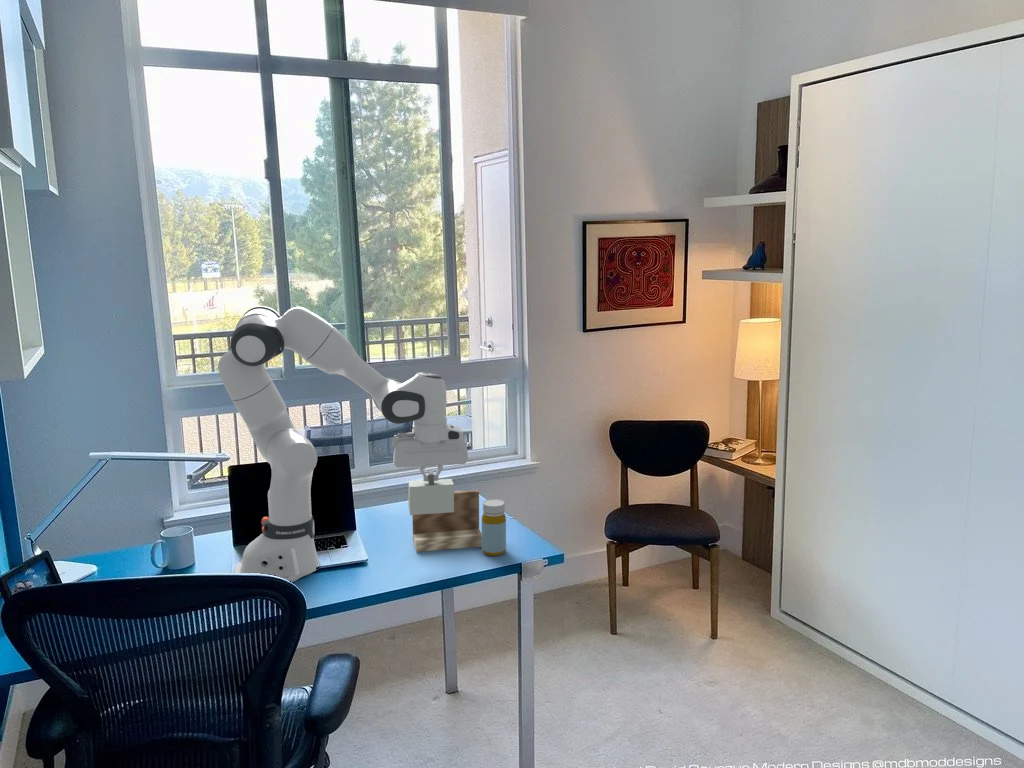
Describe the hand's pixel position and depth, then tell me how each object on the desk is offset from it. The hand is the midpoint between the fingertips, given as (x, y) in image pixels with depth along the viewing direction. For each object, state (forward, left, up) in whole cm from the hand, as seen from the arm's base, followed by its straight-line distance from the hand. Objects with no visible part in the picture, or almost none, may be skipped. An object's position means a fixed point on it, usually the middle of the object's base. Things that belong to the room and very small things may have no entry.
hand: (430, 480), depth 208 cm
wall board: (+6, +12, -24) cm, 27 cm away
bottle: (+18, +3, -24) cm, 30 cm away
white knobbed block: (0, 0, -9) cm, 9 cm away
